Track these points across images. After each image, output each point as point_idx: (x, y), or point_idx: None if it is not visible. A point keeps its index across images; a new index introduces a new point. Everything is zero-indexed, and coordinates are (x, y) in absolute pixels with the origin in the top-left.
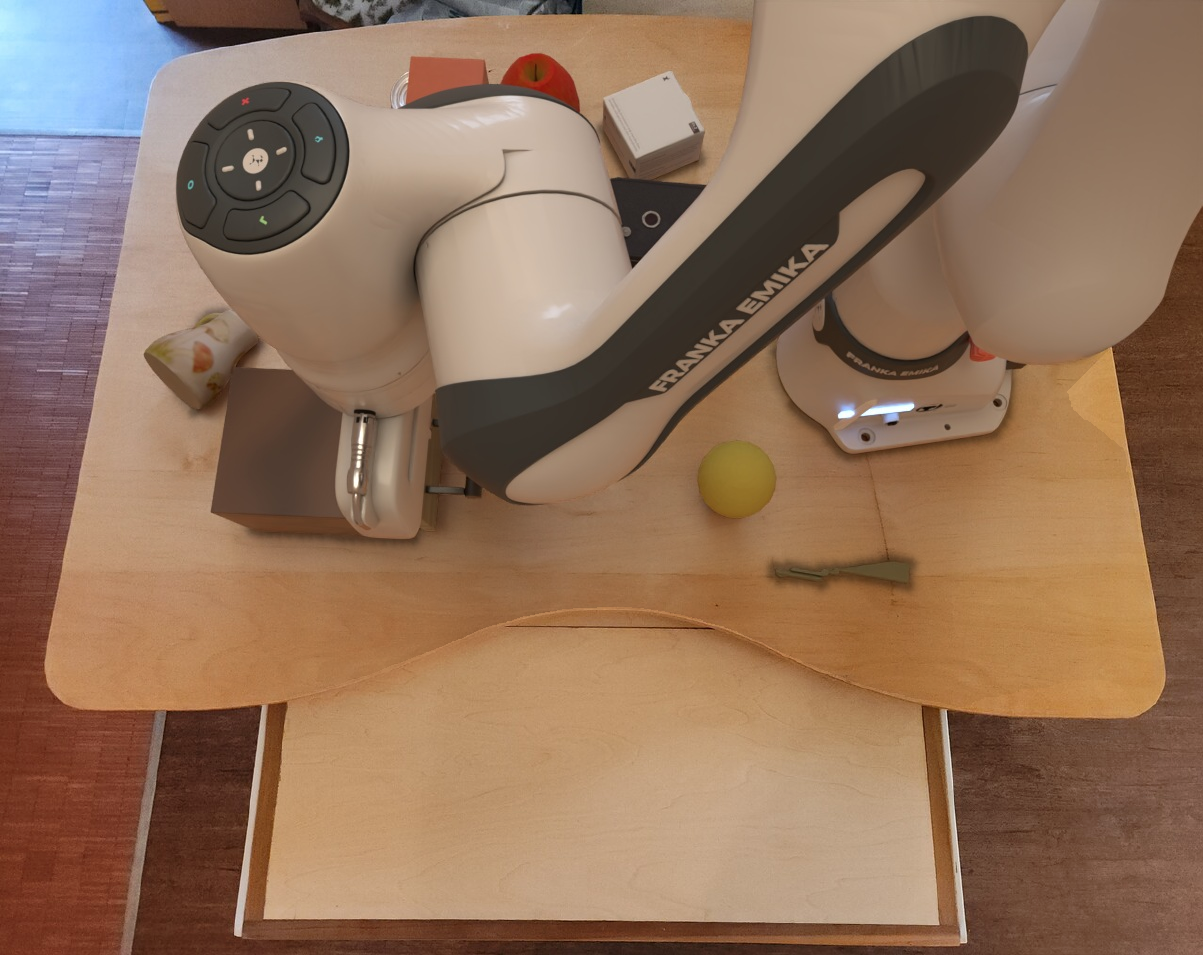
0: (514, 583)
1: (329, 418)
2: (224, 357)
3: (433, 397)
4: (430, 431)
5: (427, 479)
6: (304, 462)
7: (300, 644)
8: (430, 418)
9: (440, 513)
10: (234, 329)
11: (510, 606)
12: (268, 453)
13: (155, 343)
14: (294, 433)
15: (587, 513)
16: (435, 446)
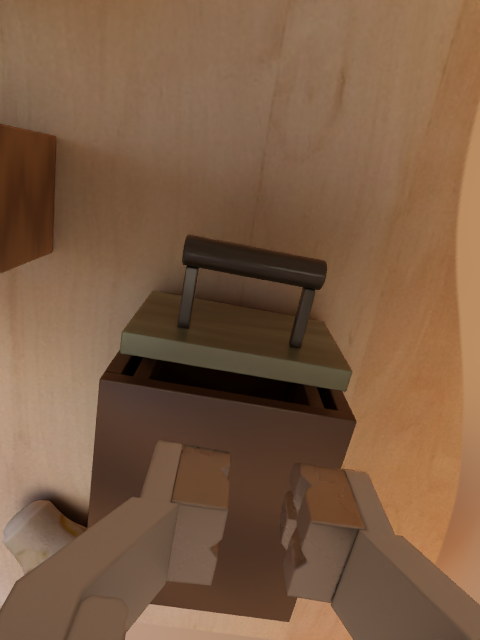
0: (417, 219)
1: None
2: None
3: (223, 464)
4: (353, 484)
5: (279, 344)
6: (238, 523)
7: (414, 472)
8: (315, 493)
9: (295, 310)
10: (29, 542)
11: (448, 229)
12: (217, 562)
13: None
14: None
15: (341, 84)
16: (216, 319)
